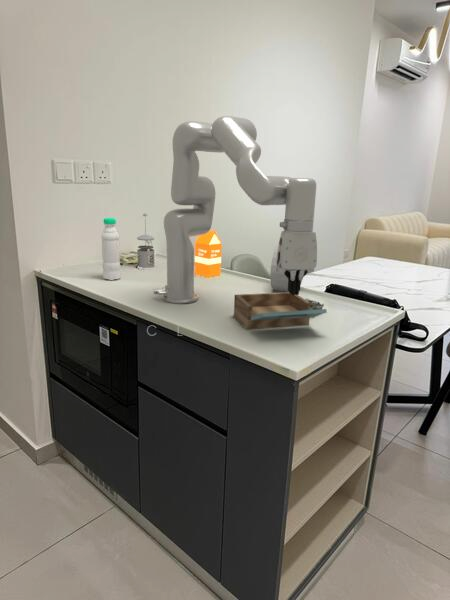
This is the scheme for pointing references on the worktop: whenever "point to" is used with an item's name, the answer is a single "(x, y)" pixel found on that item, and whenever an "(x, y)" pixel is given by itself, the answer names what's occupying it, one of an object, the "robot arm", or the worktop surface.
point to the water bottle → (110, 250)
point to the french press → (145, 251)
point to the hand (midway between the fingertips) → (293, 293)
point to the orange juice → (208, 255)
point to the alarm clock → (278, 276)
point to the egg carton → (315, 305)
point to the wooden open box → (269, 309)
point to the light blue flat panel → (288, 314)
